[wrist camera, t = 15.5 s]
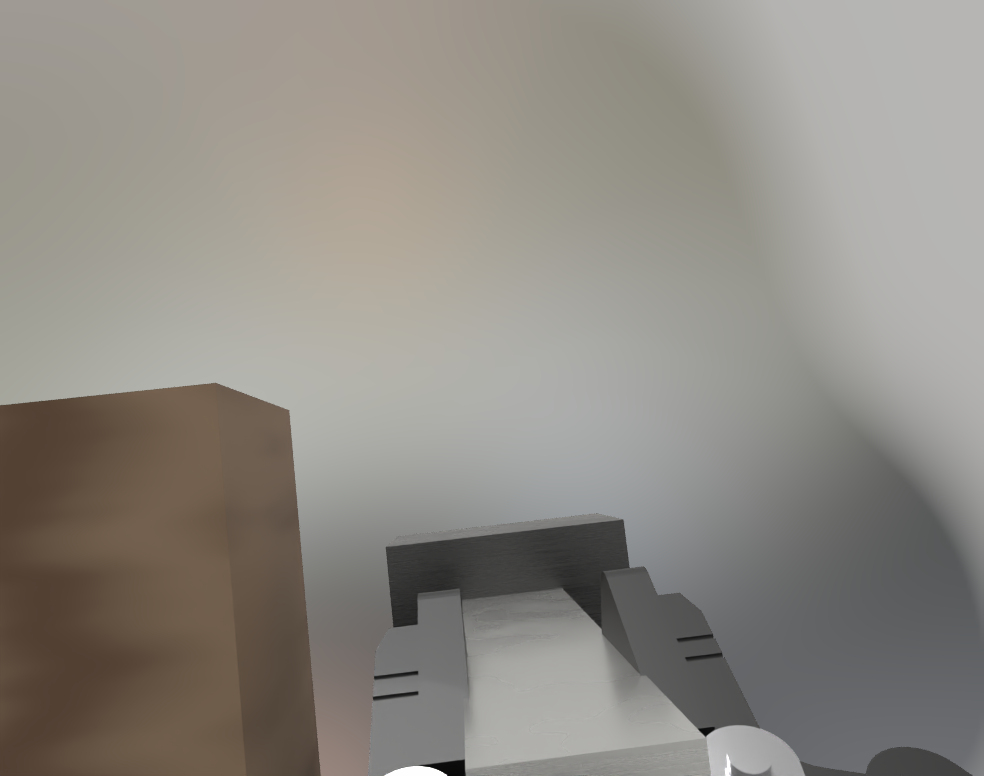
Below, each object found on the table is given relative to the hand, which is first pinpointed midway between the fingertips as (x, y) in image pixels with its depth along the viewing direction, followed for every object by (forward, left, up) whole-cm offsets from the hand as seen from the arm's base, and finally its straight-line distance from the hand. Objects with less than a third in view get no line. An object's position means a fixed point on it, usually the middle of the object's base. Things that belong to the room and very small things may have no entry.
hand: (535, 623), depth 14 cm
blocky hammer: (0, +2, -3) cm, 4 cm away
